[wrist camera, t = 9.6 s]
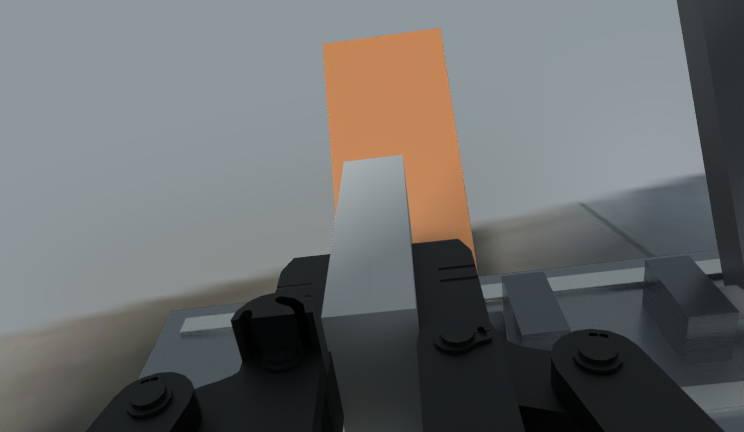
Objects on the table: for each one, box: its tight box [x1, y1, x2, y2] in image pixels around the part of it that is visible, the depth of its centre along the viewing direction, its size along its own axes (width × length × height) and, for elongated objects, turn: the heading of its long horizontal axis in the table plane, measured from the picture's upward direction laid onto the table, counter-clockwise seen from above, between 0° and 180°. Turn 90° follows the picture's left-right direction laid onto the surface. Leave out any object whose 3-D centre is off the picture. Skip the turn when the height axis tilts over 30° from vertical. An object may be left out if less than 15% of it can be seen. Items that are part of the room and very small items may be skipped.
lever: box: [323, 28, 507, 340], centre depth 25 cm, size 6×2×13 cm
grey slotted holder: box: [138, 250, 744, 432], centre depth 23 cm, size 30×10×6 cm, turn 90°
